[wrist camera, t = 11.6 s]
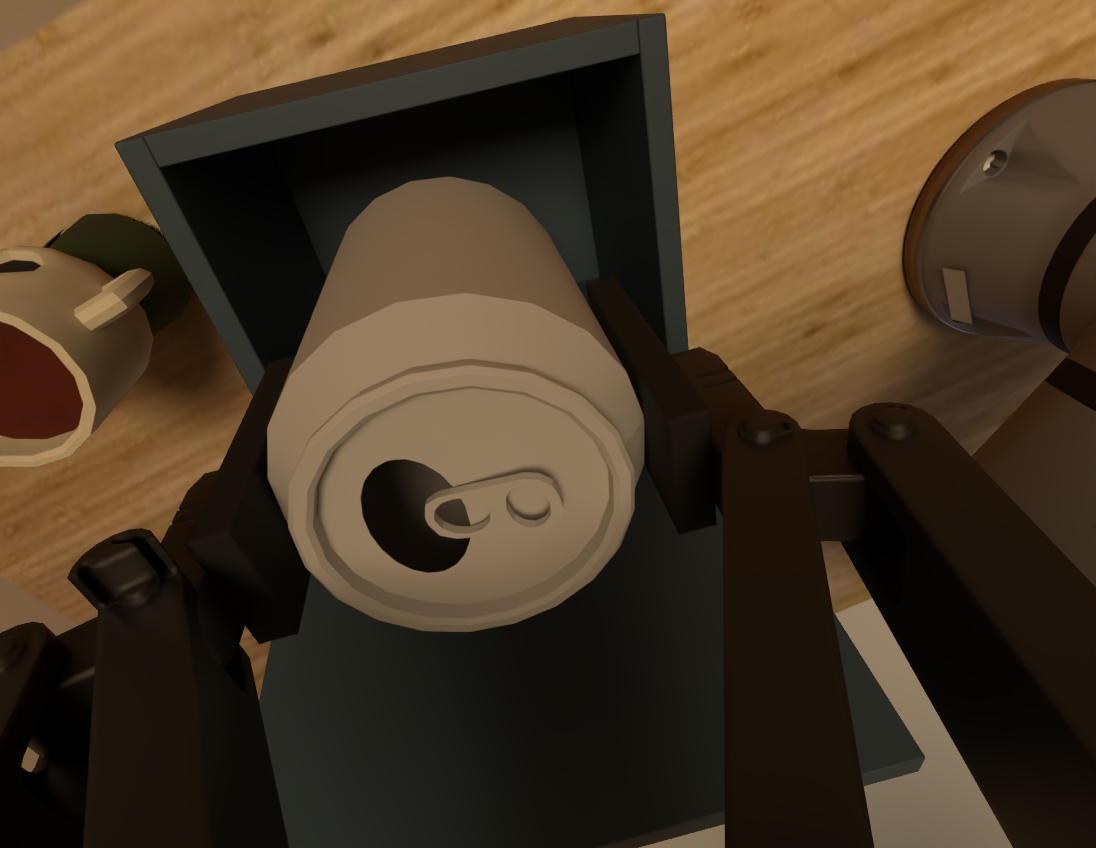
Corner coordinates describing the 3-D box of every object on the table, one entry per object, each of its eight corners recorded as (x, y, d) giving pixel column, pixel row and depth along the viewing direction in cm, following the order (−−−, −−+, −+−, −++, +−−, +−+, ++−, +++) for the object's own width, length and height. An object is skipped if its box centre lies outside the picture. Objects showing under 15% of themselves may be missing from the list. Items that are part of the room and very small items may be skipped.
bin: (236, 96, 29) (111, 143, 18) (575, 16, 30) (666, 12, 18) (344, 348, 37) (305, 493, 26) (612, 281, 38) (692, 395, 26)
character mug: (157, 154, 30) (5, 227, 19) (259, 276, 34) (181, 392, 23) (-11, 263, 32) (-239, 387, 21) (105, 368, 36) (-36, 518, 25)
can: (293, 210, 19) (140, 421, 9) (528, 140, 19) (640, 272, 9) (387, 407, 23) (356, 701, 13) (579, 351, 23) (693, 600, 13)
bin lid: (208, 953, 14) (226, 960, 14) (927, 757, 14) (919, 771, 15) (299, 493, 25) (307, 507, 26) (695, 393, 25) (696, 408, 26)
